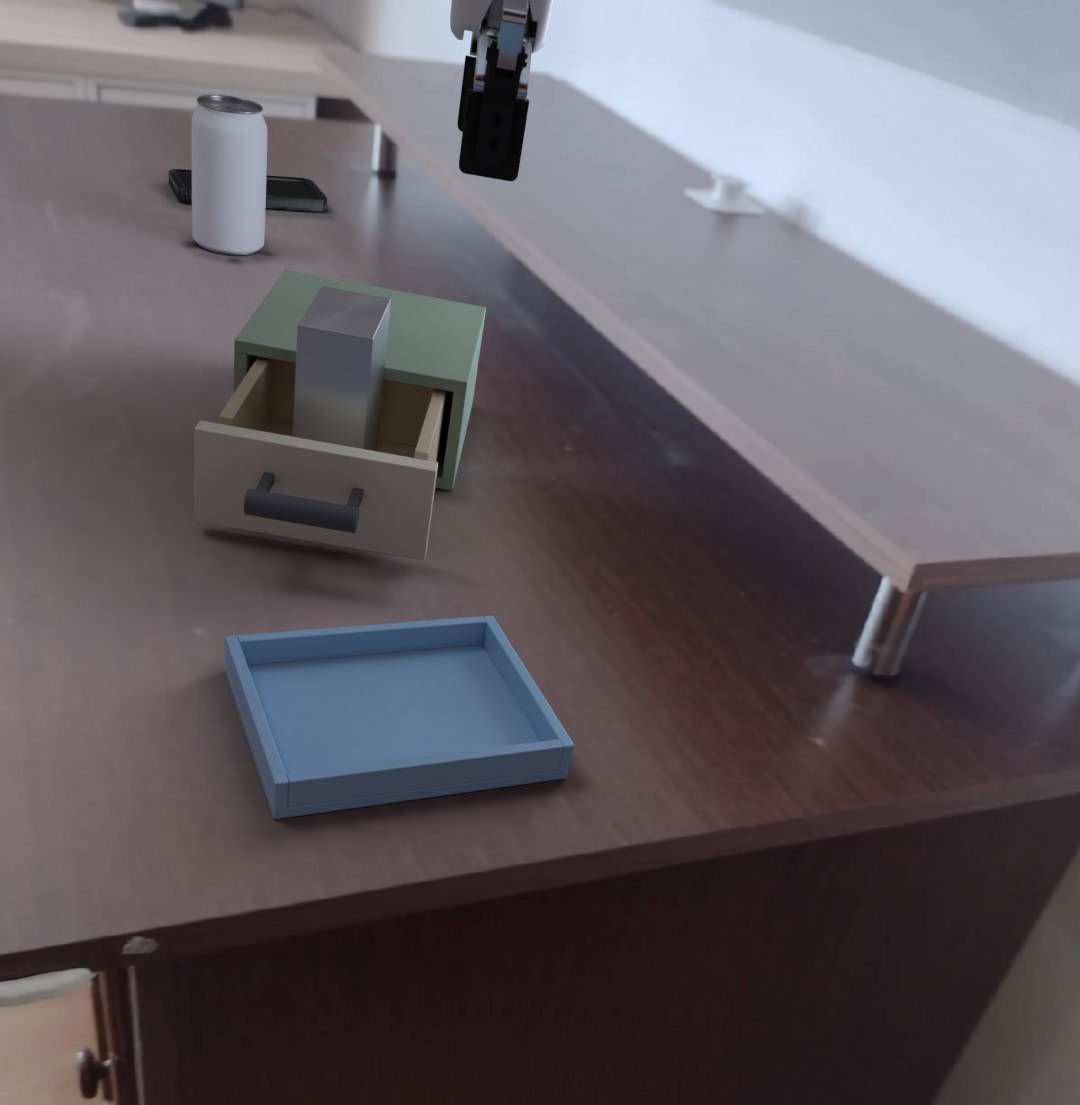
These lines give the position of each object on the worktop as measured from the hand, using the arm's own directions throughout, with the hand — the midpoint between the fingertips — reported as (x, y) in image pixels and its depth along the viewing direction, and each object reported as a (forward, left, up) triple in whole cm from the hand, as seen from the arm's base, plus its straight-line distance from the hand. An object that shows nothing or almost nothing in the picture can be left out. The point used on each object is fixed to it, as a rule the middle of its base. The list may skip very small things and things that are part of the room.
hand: (485, 154), depth 68 cm
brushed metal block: (-6, -5, -19) cm, 20 cm away
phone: (-26, +56, -21) cm, 65 cm away
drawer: (-6, -8, -20) cm, 22 cm away
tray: (+1, -27, -21) cm, 34 cm away
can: (-24, +40, -21) cm, 51 cm away
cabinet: (-6, +6, -21) cm, 22 cm away
